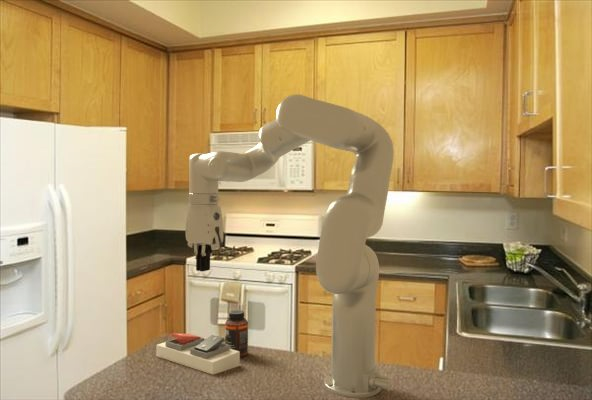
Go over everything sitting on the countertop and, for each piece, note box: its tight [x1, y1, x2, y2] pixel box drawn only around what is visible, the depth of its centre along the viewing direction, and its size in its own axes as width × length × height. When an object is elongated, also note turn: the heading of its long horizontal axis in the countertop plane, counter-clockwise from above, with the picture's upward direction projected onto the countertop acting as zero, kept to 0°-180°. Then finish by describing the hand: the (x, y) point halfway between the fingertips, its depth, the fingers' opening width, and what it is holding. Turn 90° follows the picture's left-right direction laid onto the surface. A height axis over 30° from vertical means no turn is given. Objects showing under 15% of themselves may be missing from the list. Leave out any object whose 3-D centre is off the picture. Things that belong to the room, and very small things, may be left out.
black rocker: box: [195, 334, 225, 353], centre depth 111 cm, size 4×6×2 cm, turn 145°
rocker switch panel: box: [155, 336, 241, 375], centre depth 114 cm, size 20×9×5 cm, turn 55°
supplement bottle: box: [224, 309, 249, 358], centre depth 121 cm, size 6×6×11 cm
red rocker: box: [170, 332, 201, 344], centre depth 117 cm, size 4×6×2 cm, turn 145°
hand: (203, 270), depth 121 cm, fingers closed
